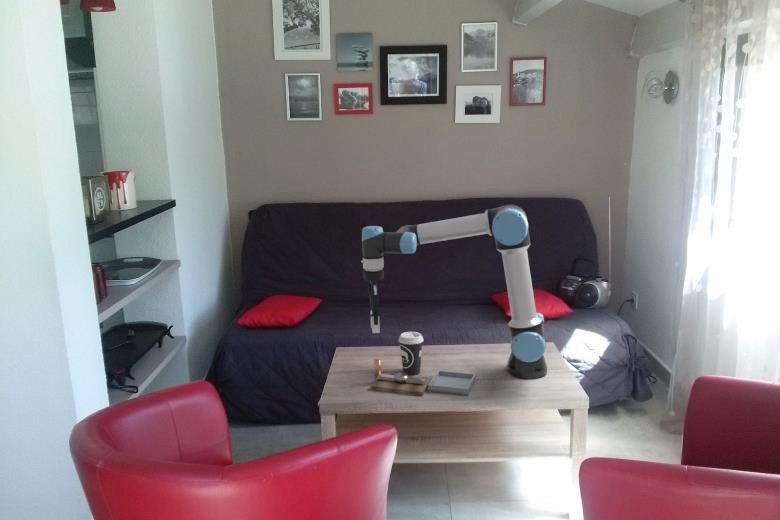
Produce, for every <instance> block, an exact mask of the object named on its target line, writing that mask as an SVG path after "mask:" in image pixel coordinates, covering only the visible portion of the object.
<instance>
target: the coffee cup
mask: <svg viewBox="0 0 780 520" xmlns="http://www.w3.org/2000/svg"><path fill="white" fill-rule="evenodd" d="M397 341H398V343H399V348H400V354H401V355H400V356H401V364H402V373H406V374H408V376H417V375H419V374H421V366H422V365H421V364H422V363H421V362H422V353H423V351H422V350H423V342H424V337H423V335H422V334H421V333H420V332H417V331H405V332H402V333H401V334H400V335H399V338H398V340H397Z"/></svg>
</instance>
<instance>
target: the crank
mask: <svg viewBox="0 0 780 520" xmlns="http://www.w3.org/2000/svg"><path fill="white" fill-rule="evenodd" d="M381 360H382V359H381V358H374V359H373V362H374V365H373V368H374V372H373V373H374V379H375V380H378V379H380V380H389V381H395V382H396V383H406V382H407V383H417V384H425V382H426V379H425V378H415V377H408V376H409V375H408V374H406V373H403V372H396V373H394V374H395V375H387V374H383V373H382V363H381Z"/></svg>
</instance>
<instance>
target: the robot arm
mask: <svg viewBox="0 0 780 520" xmlns="http://www.w3.org/2000/svg"><path fill="white" fill-rule="evenodd" d="M485 234H486V235H489V236H491V237H492V236H493V237H494V240H495V241H494V242H495V246H496V250H497V251H498V252H499V253H501V257H502V262H503V263H502V264H503V269H504V276H505V282H506V289H507V294H508V295H507V297H508V302H509V309H510V314H511V319H510V321H509V322H508V331H509V337H510V351H511V352H510V354H509V357H508V358H507V363H506V372H507V373H508V374H509V375H510V376H511V377H515V378H519V379H525V380H527V379H528V380H532V379H534V380H535V379H539V378H540V379H541V378H543V377H545V376H546V375H547V374H548V366H547V365H548V364H547V362H546V361H547V360H546V358H545V356H544V355H545V351H546V348H547V343H546V340H545V333H544V329H545V328H544V327H545V326H544V323H545V319H544V315H543V314H542V313H540V312H537V310H536V309H537V308H536V301H535V297H534V289H533V282H532V277H531V269H530V263H529V262H530V261H529V255H528V254H529V253H528V249H529V248H530V246H531V238H530V231H529V222H528V217H527V214H526V212H525V210H524V209H523V208H522V207H520V206H518V205H516V204H505V205H502V206H499V207H495V208H490V209H486V210H485V211H484V213H477V214H471V215H466V216H461V217H456V218H455V217H454V218H449V219H443V220H438V221H436V220H435V221H430V222H425V223H420V224H414V225H408V224H406V225H403V226H401V227H399V229H397V231H395V232H394V231H393V232H385V231H384V229H383V227H382V226H380V225H379V226H378V225H368V226H365V227H363V228H362V229H361V245H362V246H361V247H362V248H361V252H362V260H361V261H360V262H361V264H362V269H363V271H362V276H363V278H362V279H363V280H364V281H366V282H368V284H367V287H368V294H369V307H370V308H369V309H370V311H369V312H370V328H371V332H372V334H379V333H381V328H380V327H381V325H380V324H381V323H380V316H381V313H380V289H381V287H380V283H378V282H379V281H382V280H384V279H385V272H384V271H385V270H384V269H383V268H384V267H385V265H384V264H385V261H384V254H402V255H403V254H404V255H407V254H414V253H416V251H417V246H419V245H424V244H429V243H436V242H442V241H443V242H444V241H448V240H449V241H450V240H456V239H457V240H458V239H462V238H467V237H468V238H469V237H475V236H480V235H485Z"/></svg>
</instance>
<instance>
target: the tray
mask: <svg viewBox="0 0 780 520" xmlns="http://www.w3.org/2000/svg"><path fill="white" fill-rule="evenodd" d="M431 378H432V380H431V381H430V383H429V384H428V389H427V392H429V393H439V394H448V395H456V396H466V397H469V395H470V393H471V391H472V389H473V387H474V385H475V383H476V381H477V373H471V372H462V371H461V372H459V371H450V370H441V369H438V370H437V371H436V372H435V374H434V375H433V377H431Z"/></svg>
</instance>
